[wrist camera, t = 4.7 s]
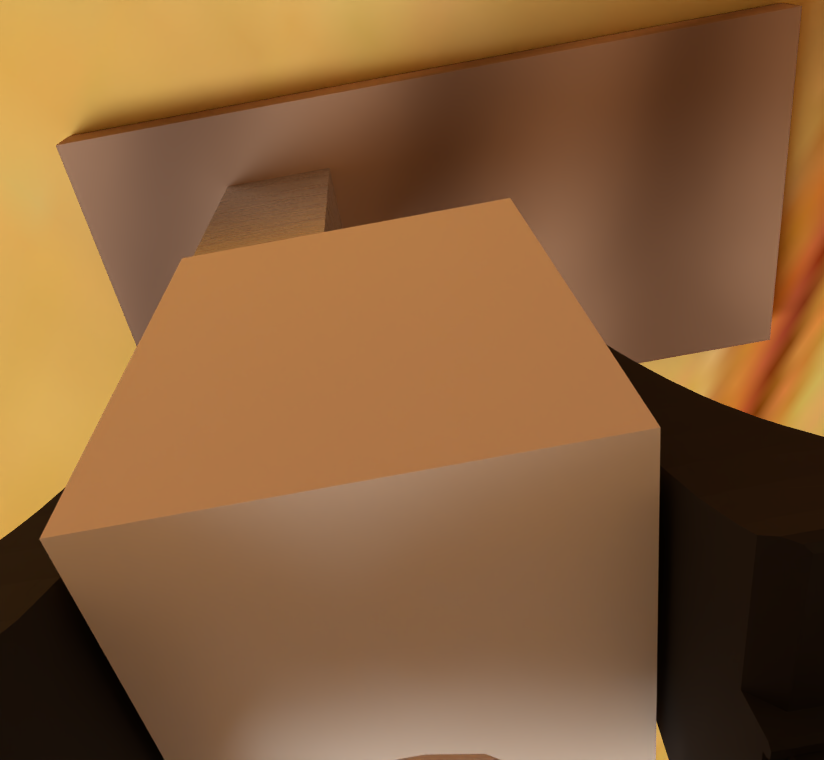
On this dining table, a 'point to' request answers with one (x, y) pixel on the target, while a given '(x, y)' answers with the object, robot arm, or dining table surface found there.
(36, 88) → the dining table surface
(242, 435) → the tan rectangular block
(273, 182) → the post
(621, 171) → the stand
